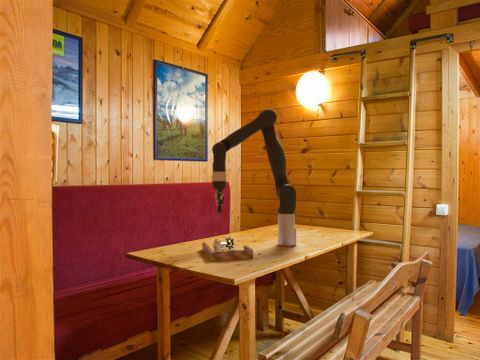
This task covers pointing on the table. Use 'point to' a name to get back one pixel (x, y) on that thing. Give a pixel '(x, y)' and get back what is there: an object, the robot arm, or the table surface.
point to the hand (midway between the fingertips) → (219, 212)
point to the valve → (222, 244)
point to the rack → (227, 253)
